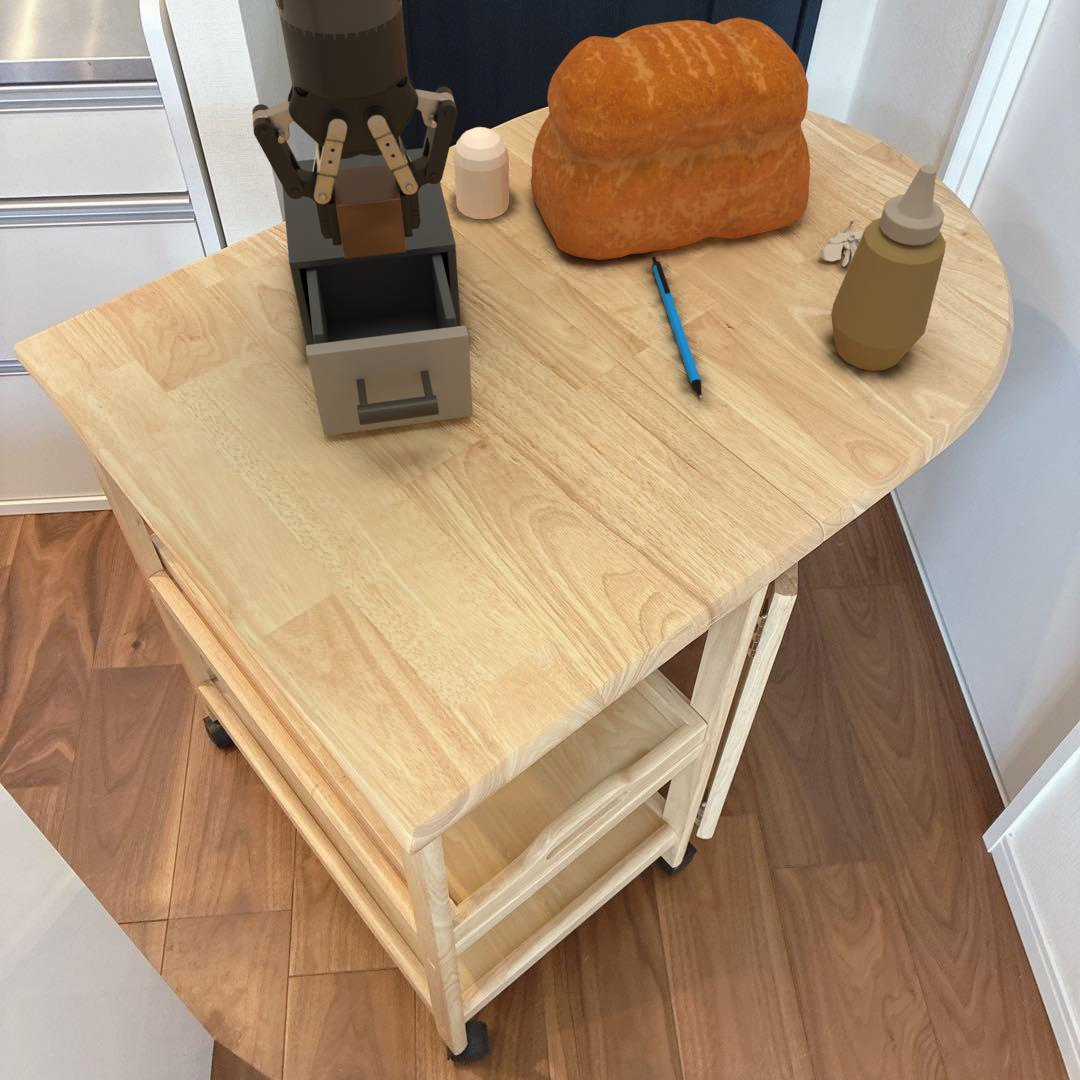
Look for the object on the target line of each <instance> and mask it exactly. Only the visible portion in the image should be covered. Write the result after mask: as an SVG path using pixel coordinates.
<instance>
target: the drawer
mask: <svg viewBox="0 0 1080 1080" xmlns="http://www.w3.org/2000/svg"><path fill="white" fill-rule="evenodd" d="M306 272H307V282H308V292H309V301H310V311H311V320H312V330H313V337H314V342H315V344H312V345H307V344H306V345H305V352H306V358H307V362H308V367H309V373H310V377H311V381H312V386H313V391H314V396H315V400H316V404H317V409H318V414H319V418H320V424H321V428H322V433H323V436H325V437H327V436H335V435H342V434H349V433H356V432H363V431H364V432H365V431H371V430H377V429H378V430H380V429H386V428H393V427H400V426H407V425H408V426H409V425H414V424H423V423H430V422H437V421H444V420H452V419H459V418H468V417H473V415H474V414H473V413H474V412H473V395H472V377H471V376H472V375H471V359H470V341H469V339H470V338H469V332H468V329H467V325H461V326H457V327H456V316H455V311H454V307H453V303H452V299H451V294H450V290H449V286H448V281H447V277H446V273H445V268H444V264H443V260H442V255H441V253H432V254H424V255H415V256H406V257H397V258H389V259H380V260H371V261H362V262H354V263H345V264H336V265H327V266H319V267H310V268H306Z"/></svg>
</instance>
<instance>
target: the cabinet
mask: <svg viewBox="0 0 1080 1080" xmlns="http://www.w3.org/2000/svg"><path fill="white" fill-rule="evenodd" d="M422 150H423V147H422V148H413V149H412V148H410V149H406V151H407V154H408V156H409V158H410V160H411V161H413V160H416V159H418V158H420V157H421V155H422ZM314 160H315V158H312V159H304V160H303V159H302V160H297V162H298V164H299V166H300V168H301V169H303V170H307V171H313V165H314ZM385 164H387V163H386V160H385V158H384V156H383V155H376V156H370V155H363V154H360V155H357V156H355V157H352V158H347V159H340V164H339V169H346V168H356V167H366V166H376V165H385ZM281 186H282V185H281ZM281 188H282V199H283V208H284V209H283V210H284V220H285V231H286V242H287V254H288V264H289V269H290V273H291V278H292V283H293V288H294V292H295V297H296V301H297V306H298V310H299V316H300V320H301V325H302V330H303V334H304V335H303V336H304V338H305V344H306V345H312V344H315V342H314V337H313V330H312V320H311V311H310V301H309V292H308V282H307V272H306V268H310V267H319V266H327V265H336V264H345V263H354V262H362V261H371V260H380V259H389V258H397V257H406V256H415V255H424V254H432V253H441V255H442V260H443V264H444V268H445V273H446V277H447V281H448V286H449V290H450V294H451V299H452V303H453V307H454V311H455V316H456V327H457V326H462V325H461V324H462V323H461V311H460V309H461V308H460V294H459V277H458V262H457V245H456V240H455V237H454V232H453V229H452V223H451V221H450V216H449V212H448V208H447V204H446V200H445V196H444V193H443V189H442V184H441V181H440V182H439V183H437V184H430V183H427V184H425V185H423V186H421V187H420V189H419V191H418V199H419V211H420V221H421V223H420V225H419V228H417V229H412V234H413V237H405V244H406V252H403V253H395V254H386V255H377V256H368V257H360V258H351V259H345V258H344V253H343V247H342V245H334V246H333V241H332V238H330V239H325V238H324V236H323V235H322V233H321V228H320V222H319V217H318V211H317V206H316V203H315V201H314V200H313V199H311V198H309V197H304V196H302V197H301V198H299V199H292V198H290V197H289V196H288V195H287V193H286V191H285V189H284V188H283V186H282V187H281Z"/></svg>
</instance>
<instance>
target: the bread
mask: <svg viewBox="0 0 1080 1080" xmlns="http://www.w3.org/2000/svg"><path fill="white" fill-rule="evenodd" d="M809 87H810V85H809V82H808V78H807V74H806V71H805V68H804V66H803V64H802V62H801V60H800V58H799V57H798V55H797V54H796V53H795V52H794V50H793V49H792V48H791V47H790V46H789V45H788V43H786V41H785V40H784V39H783V38H782V37H781V36H780V35H779V34H778V33H777V32H776V31H774V30H773V29H772V28H771V27H770V26H768V25H766V24H765V23H763V22H762V21H758V20H755V19H750V18H746V17H745V18H744V17H739V16H738V17H734V18H729V19H725V20H722V21H719V22H718V23H715V24H713V23H710V22H707V21H704V20H695V19H684V20H676V21H675V20H674V21H667V22H660V23H653V24H644V25H640V26H638V27H634V28H632V29H629V30H627V31H625V32H623V33H621V34H620V35H619V34H618V36H615V37H609V36H608V37H607V36H598V35H594V36H589V37H587V38H585V39H583V40H581V41H580V42H579V43H577V44H576V45H575V46H574V47H573V48H572V49H571V50H570V51H569V52H568V54H567V55H566V56H565V57H564V58H563V60H562V62H561V63H560V64H559V65H558V66H557V68H556V70H555V71H554V73H553V74H552V75H551V80H550V82H549V85H548V88H547V105H548V112H549V113H548V115H547V117H546V118H545V120H544V122H543V123H542V125H541V127H540V128H539V131H538V134H537V136H536V138H535V140H534V145H533V149H532V154H531V178H530V185H531V187H530V188H531V193H532V197H533V201H534V204H535V205H536V207H537V209H538V212H539V213H540V216H541V217H542V220H543V221H544V223H545V226H546V227H547V229H548V231H549V232H550V235H551V236H552V238H553V240H554V242H555V245H556V247H557V248H558V249H559V250H561V251H562V252H564V253H565V254H568V255H570V256H573V257H577V258H583V259H591V260H598V261H601V260H610V259H618V258H622V257H626V256H628V255H633V254H634V255H635V254H647V253H651V252H652V253H653V252H656V251H663V250H671V249H676V248H680V247H684V246H688V245H691V244H694V243H697V242H700V241H702V240H704V239H707V238H709V237H710V238H719V239H721V238H722V239H732V240H733V239H740V238H745V237H748V236H753V235H756V234H757V235H758V234H760V233H766V232H769V231H774V230H778V229H782V228H786V227H788V226H790V225H793V224H794V223H795V222H797V221H798V220H799V219H800V218H802V216H803V215H804V213H805V212H806V211H807V207H808V204H809V197H810V195H809V194H810V177H811V160H810V153H809V147H808V142H807V140H806V139H807V138H806V137H805V134H804V132H803V128H802V122H804V120H805V117H806V114H807V111H808V101H809Z"/></svg>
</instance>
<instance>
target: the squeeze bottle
mask: <svg viewBox="0 0 1080 1080" xmlns="http://www.w3.org/2000/svg"><path fill="white" fill-rule="evenodd" d="M936 175H937V168H936V167H935V166H933V165H930V164H923V165H922V166H921V167H919V170H918V171H917V173H916V174H915V176H914V177H913V179H912V181H911V183H910V185H909V186H908V188H907V190H906V191H905V192H904V194H899V195H896V196H893V197H891V198H889V199H888V200H887V201H886V202H884V205H883V209H882V212H881V216H880V217H879V218H875V219H874V220H872V221H871V222H870V223H869V224H868V225H867V226H866V227H864V231H863V232H864V233H863V235H862V237H861V240H860V242H859V243H858V244H859V245H858V247H857V249H856V252H855V251H854V252H855V254H854V256H853V259H852V261H851V260H850V263H849V265H848V268H847V270H846V273H845V275H844V277H843V280H842V282H841V284H840V287H839V290H838V291H837V294H836V296H835V298H834V301H833V303H832V308H831V313H830V316H831V324H832V332H833V333H832V334H833V341H834V342H833V343H834V347H835V349H836V352H837V355H838V356H839V357H840V358H841V359H843V360H844V362H846V363H847V364H849V365H851V366H853V367H855V368H857V369H861V370H867V371H871V372H873V371H874V372H875V371H886V370H887V369H891V368H893V367H895V366H896V365H897V364H898V363H899V362H900V361H901V360H902V358H904V356H905V355H906V354H907V353H908V352H909V351H910V350H911V349H912V347H913V346H914V345H916V343H917V342H918V341H919V340H920V339H921V338H922V337H923V336H924V334H925V333H926V330H927V324H928V321H929V317H930V313H931V310H932V306H933V301H934V297H935V293H936V290H937V289H936V288H937V284H938V281H939V276H940V272H941V269H942V266H943V265H942V264H943V261H944V256H945V253H946V246H947V242H946V239H945V238H944V236H943V234H942V232H941V228H942V226H943V223H944V219H945V213H944V211H943V209H942V207H941V205H939V204H938V203H936V202H935V201H934V197H935V187H936V177H937V176H936Z"/></svg>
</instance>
